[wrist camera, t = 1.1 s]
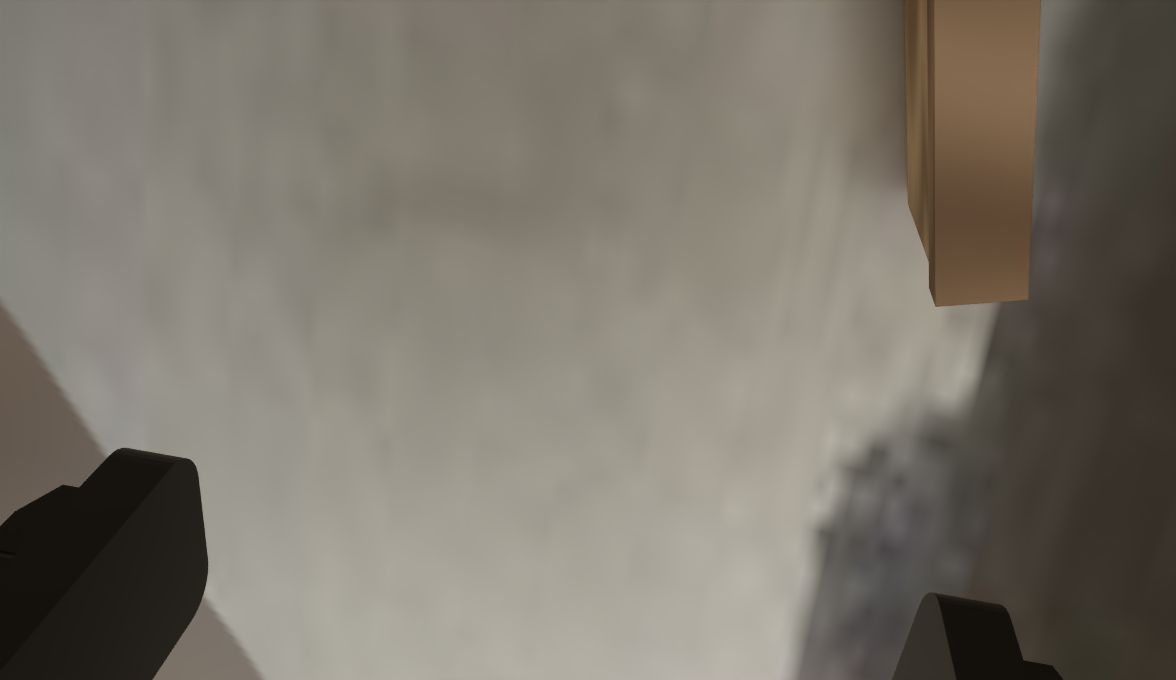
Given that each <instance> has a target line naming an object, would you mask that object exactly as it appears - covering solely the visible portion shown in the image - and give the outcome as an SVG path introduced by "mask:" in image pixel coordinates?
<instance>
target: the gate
mask: <svg viewBox="0 0 1176 680" xmlns="http://www.w3.org/2000/svg"><path fill="white" fill-rule="evenodd" d="M1040 15H1041V0H905V58H906V117H907V175H908V205H909V208H910V211H911V214H912V216H913V219H914V222H915V225H916V228H917V230H918V233H919V236H920V239H921V241H922V244H923V247H924V250H925V253H926V255H927V258H928V261H929V289H930V292H931V295H932V298H933V301H934V304H935V307H939V306H952V305H965V304H979V303H992V302H1005V301H1018V300H1028V292H1029V269H1030V245H1031V222H1032V199H1033V176H1034V153H1035V130H1036V107H1037V84H1038V61H1039V38H1040Z"/></svg>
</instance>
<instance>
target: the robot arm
mask: <svg viewBox="0 0 1176 680" xmlns="http://www.w3.org/2000/svg"><path fill="white" fill-rule="evenodd" d="M207 575H208V556H207V547H206V538H205V529H204V521H203V512H202V503H201V495H200V486H199V477H198V471H197V468H196V466H195V464H194V463H193V462H192V461H191V460H190V459H187V458H181V457H175V456H170V455H164V454H158V453H153V452H147V451H141V450H136V449H130V448H121V449H118V450H116V451H114V452H113V453H112V454H111V455H110V456H109V457H108V458H107V459H106V460H105V461H104V462H103V463H102V464H101V465H100V466H99V467H98V468H97V469H96V470H95V471H94V472H93V473H92V475H91V476H90V477H89V478H88V479H87V480H86V481H85V482H84V483H83V484H82V485H81V486H80V487H79V488H78V487H73V486H66V485H62V486H60V487H58V488H56V489H55V490H53V491H51V492H49V493H47V494H45V495H44V496H42V497H40V498H38V499H37V500H35V501H33V502H31V503H29V504H28V505H26V506H24V507H22V508H20V509H19V510H17V511H15V512H14V513H13V514H12V515H11V516H10V517H9V518H8V519H7V520H6V521H5V522H4V523H3V524H2V525H1V526H0V680H152V679H153V678H154V676H155V675H156V673H157V672H158V670H159V669H160V667H161V666H162V664H163V663H164V661H165V660H166V658H167V657H168V655H169V654H170V652H171V651H172V649H173V648H174V646H175V645H176V643H177V642H178V640H179V639H180V637H181V636H182V634H183V633H184V631H185V630H186V628H187V626H188V625H189V624H190V622H191V621H192V619H193V617H194V615H195V613H196V611H197V610H198V607H199V605H200V603H201V600H202V597H203V594H204V590H205V586H206V581H207ZM892 680H1063V679H1062V677H1061V676H1060V675H1059V674H1058V672H1057V671H1056V670H1055V668H1054V667H1053V666H1051V665H1046V664H1040V663H1035V662H1029V661H1024V660H1023V657H1022V654H1021V651H1020V648H1019V644H1018V641H1017V638H1016V635H1015V631H1014V628H1013V625H1012V621H1011V618H1010V616H1009V613H1008V612H1007V610H1006V608H1005V607H1004V606H1002V605H1000V604H994V603H988V602H983V601H977V600H971V599H966V598H960V597H955V596H949V595H943V594H938V593H932V592H931V593H928V594H926V595H925V596H924V598H923V599H922V601H921V603H920V606H919V608H918V611H917V613H916V616H915V619H914V622H913V624H912V627H911V630H910V632H909V635H908V638H907V640H906V643H905V646H904V649H903V651H902V654H901V657H900V659H899V662H898V665H897V667H896V670H895V673H894V676H893V678H892Z"/></svg>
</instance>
